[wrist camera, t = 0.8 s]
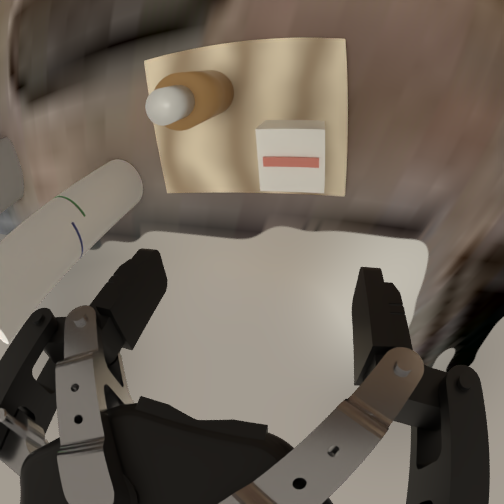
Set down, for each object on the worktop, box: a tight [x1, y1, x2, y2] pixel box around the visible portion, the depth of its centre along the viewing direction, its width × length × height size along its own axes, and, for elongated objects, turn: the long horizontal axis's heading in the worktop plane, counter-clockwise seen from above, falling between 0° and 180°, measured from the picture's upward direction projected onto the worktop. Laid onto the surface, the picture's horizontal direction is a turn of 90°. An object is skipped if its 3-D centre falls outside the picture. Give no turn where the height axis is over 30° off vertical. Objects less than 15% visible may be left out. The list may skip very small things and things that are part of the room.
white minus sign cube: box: [255, 120, 325, 193], centre depth 24 cm, size 6×6×5 cm
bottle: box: [146, 70, 234, 131], centre depth 21 cm, size 5×5×10 cm
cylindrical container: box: [0, 159, 143, 344], centre depth 25 cm, size 7×7×25 cm
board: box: [144, 38, 348, 196], centre depth 26 cm, size 20×16×2 cm
